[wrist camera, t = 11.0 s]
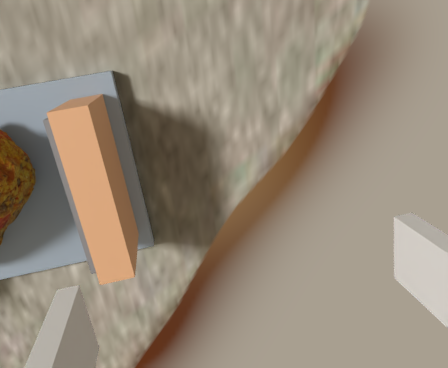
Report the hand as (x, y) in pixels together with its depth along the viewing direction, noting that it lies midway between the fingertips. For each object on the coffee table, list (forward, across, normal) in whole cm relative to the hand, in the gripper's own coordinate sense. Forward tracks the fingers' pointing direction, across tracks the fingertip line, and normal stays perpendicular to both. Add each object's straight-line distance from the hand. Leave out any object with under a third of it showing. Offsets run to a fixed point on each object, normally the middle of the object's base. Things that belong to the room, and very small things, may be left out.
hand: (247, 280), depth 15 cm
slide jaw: (+19, -8, 0) cm, 21 cm away
